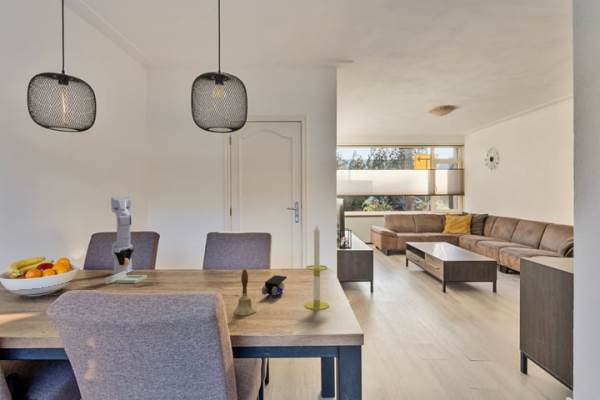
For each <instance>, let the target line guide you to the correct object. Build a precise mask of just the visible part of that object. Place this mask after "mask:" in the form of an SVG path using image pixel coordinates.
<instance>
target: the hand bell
mask: <svg viewBox="0 0 600 400" xmlns="http://www.w3.org/2000/svg"><path fill="white" fill-rule="evenodd" d="M240 278H241V284H242V285H241V286H242V295H241V296H240V297H239V298H238V302H237V307H236V308H235V309H234V310H233V314H234V315H236V316H244V317H245V316H251V315H253V314H255V313H256V312H257V310H256V308H255V307H254V306H253V304H252V298H251V296H249V295H248V287H247V286H248V282H249V275H248V271H247V269H245V268H244V269H242V273H241V276H240Z"/></svg>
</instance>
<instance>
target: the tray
mask: <svg viewBox="0 0 600 400" xmlns="http://www.w3.org/2000/svg"><path fill="white" fill-rule="evenodd" d="M147 278H148V275H146V274H145V275H144V274H142V275H140V274H139V275H137V274H135V275H134V274H132V275H131V274H128V275H127V274H126V276H125V277H122V278H119V279H117V280H116V281H115V283H118V284H122V283H124V284H137V283H139V282H142V281H144V280H146V279H147Z"/></svg>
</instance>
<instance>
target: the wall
mask: <svg viewBox="0 0 600 400" xmlns="http://www.w3.org/2000/svg"><path fill="white" fill-rule="evenodd" d="M125 276H127V273H126V271H123V272H120V273H118V274H111V275H109V276H108V277H107V276H106V277H105V279H104V283H105V285H108V284H110V283H113V282H116V280H117V279H119V278H122V277H125Z"/></svg>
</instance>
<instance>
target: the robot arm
mask: <svg viewBox="0 0 600 400" xmlns="http://www.w3.org/2000/svg"><path fill="white" fill-rule="evenodd" d="M131 199H132V198H131V197H130V196H127V197H125V196H124V197H123V196H120V197H119V196H117V197H116V196H115V197H114V196H112V197H111V198H110V201H111V202H110V205H111V206H110V207H111V212H112V213H114V214H115V216H116V241H114V242H113V243H112V245H111V257H112V258H113V259H114V264H113V265H114V269H113V272H111V273H110V275H115V274H118V273H120V272H123V271H126V274H128V273H132V272H133V271H134V269H133V260H132V258H131V256H132V254H133V253H134V248H133V247H134V246H133V244H131V226H132V219H133V218H132V215H131V214H130V211H131V207H132V203H131V202H132V200H131ZM125 258H128V259H129V265H128V266H126V267H121V266H120V265H124V263H125Z"/></svg>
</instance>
